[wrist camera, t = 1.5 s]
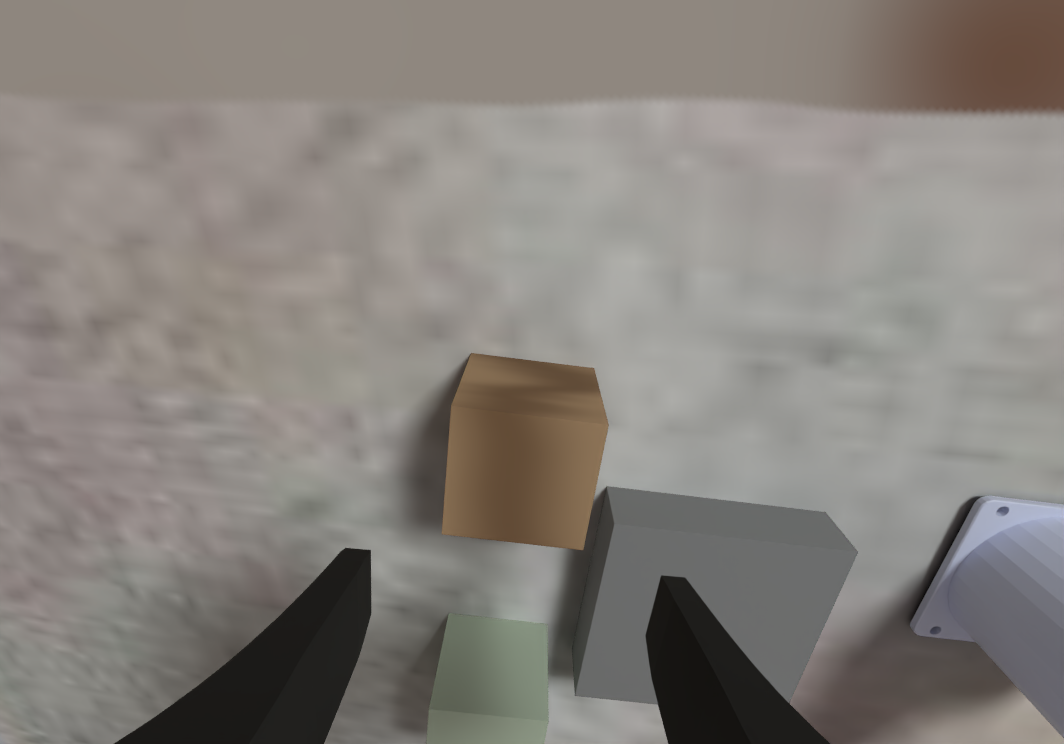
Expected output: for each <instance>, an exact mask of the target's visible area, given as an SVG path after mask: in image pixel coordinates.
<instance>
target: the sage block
mask: <svg viewBox="0 0 1064 744" xmlns="http://www.w3.org/2000/svg"><path fill="white" fill-rule="evenodd" d="M547 726H548V636H547V624H542V623H533V622H524V621H515V620H506V619H496V618H487V617H478V616H469V615H460V614H451V613H449V615H448V620H447V624H446V629H445V634H444V639H443V643H442V648H441V653H440V658H439V663H438V667H437V672H436V677H435V682H434V687H433V691H432V696H431V701H430V706H429V713H428V727H427V740H426V744H544V741H545V736H546V731H547Z"/></svg>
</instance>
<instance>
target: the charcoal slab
mask: <svg viewBox="0 0 1064 744" xmlns="http://www.w3.org/2000/svg"><path fill="white" fill-rule="evenodd" d="M857 553H858V551H857V550H856V549H855V548H854V546H853V545H852V544H851V543H850V541H849V540H848V539H847V538H846V537H845V535H844V534H843V533H842V532H841V530H840V529H839V528H838V527H837V526H836V524H835V523H834V522H833V521H832V519H831V518H830V517H829V516H828V515H827V513H826V512H819V511H810V510H802V509H794V508H785V507H777V506H768V505H760V504H752V503H743V502H735V501H726V500H718V499H709V498H701V497H693V496H684V495H676V494H667V493H659V492H651V491H642V490H634V489H625V488H617V487H608V486H607V488H606V492H605V497H604V502H603V506H602V511H601V516H600V520H599V525H598V530H597V534H596V539H595V544H594V548H593V553H592V558H591V562H590V567H589V572H588V576H587V581H586V586H585V590H584V595H583V600H582V604H581V609H580V614H579V618H578V623H577V628H576V632H575V637H574V642H573V646H572V656H573V672H574V688H575V696H581V697H591V698H600V699H610V700H620V701H629V702H639V703H648V704H658V702H657V698H656V694H655V690H654V686H653V682H652V678H651V672H650V665H649V659H648V651H647V644H646V637H645V635H646V631H647V627H648V623H649V620H650V616H651V612H652V608H653V604H654V601H655V597H656V593H657V589H658V585H659V582H660V578H661V575H663V576H675V577H685V578H686V579H687V580H688V582H689V583H690V584H691V586H692V587H693V588H694V589H695V591H696V592H697V593H698V595H699V596H700V597H701V599H702V600H703V601H704V603H705V604H706V605H707V607H708V608H709V609H710V611H711V612H712V613H713V614H714V616H715V617H716V618H717V620H718V621H719V622H720V624H721V625H722V626H723V627H724V629H725V630H726V631H727V632H728V634H729V635H730V636H731V637H732V639H733V640H734V641H735V642H736V644H737V645H738V646H739V647H740V648H741V650H742V651H743V652H744V653H745V655H746V656H747V657H748V658H749V659H750V661H751V662H752V663H753V664H754V665H755V667H756V668H757V669H758V670H759V671H760V672H761V673H762V674H763V676H764V677H765V678H766V679H767V680H768V681H769V682H770V683H771V685H772V686H773V687H774V688H775V689H776V690H777V691H778V692H779V693H780V694H781V695H782V697H783V698H784V699H785V700H786V701H787V702H788V703H789V702H790V700H791V698H792V695H793V693H794V691H795V689H796V687H797V685H798V682H799V680H800V678H801V676H802V674H803V671H804V669H805V667H806V665H807V663H808V661H809V658H810V656H811V654H812V652H813V650H814V647H815V645H816V643H817V641H818V639H819V636H820V634H821V632H822V630H823V628H824V626H825V623H826V621H827V619H828V617H829V615H830V612H831V610H832V608H833V606H834V604H835V602H836V599H837V597H838V595H839V593H840V591H841V588H842V586H843V584H844V582H845V580H846V578H847V575H848V573H849V571H850V569H851V567H852V564H853V562H854V560H855V558H856V556H857Z"/></svg>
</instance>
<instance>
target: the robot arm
mask: <svg viewBox="0 0 1064 744" xmlns="http://www.w3.org/2000/svg"><path fill="white" fill-rule="evenodd" d="M370 616H371V550H362V549H351V548H345V549H344V550H342V551H341V552H340V553H339V554H338V555H337V556H336V558H335V559H334V560H333V561H332V562H331V563H330V564H329V565H328V566H327V568H326V569H325V570H324V571H323V572H322V573H321V574H320V575H319V576H318V577H317V578H316V579H315V580H314V582H313V583H312V584H311V585H310V586H309V587H308V588H307V589H306V590H305V591H304V592H303V593H302V594H301V595H300V596H299V597H298V598H297V599H296V600H295V601H294V602H293V603H292V604H291V605H290V606H289V607H288V608H287V609H286V610H285V611H284V612H283V613H282V614H281V615H280V616H279V617H278V618H277V619H276V620H275V621H274V622H272V623H271V624H270V625H269V626H268V627H267V628H266V629H265V630H264V631H263V632H262V633H260V634H259V635H258V636H257V637H256V638H255V639H254V640H253V641H252V642H251V643H249V644H248V645H247V646H246V647H245V648H244V649H243V650H241V651H240V652H239V653H238V654H237V655H236V656H234V657H233V658H232V659H231V660H230V661H228V662H227V663H226V664H225V665H224V666H222V667H221V668H220V669H219V670H217V671H216V672H215V673H214V674H212V675H211V676H210V677H209V678H207V679H206V680H205V681H204V682H202V683H201V684H200V685H198V686H197V687H196V688H194V689H193V690H192V691H190V692H189V693H187V694H186V695H185V696H183V697H182V698H181V699H179V700H178V701H177V702H175V703H174V704H173V705H171V706H170V707H168V708H167V709H166V710H164V711H163V712H161V713H160V714H159V715H157V716H156V717H154V718H153V719H151V720H150V721H148V722H147V723H145V724H144V725H142V726H141V727H139V728H138V729H136V730H135V731H133V732H132V733H130V734H128V735H127V736H125V737H124V738H122V739H121V740H119V741H118V742H116V743H114V744H324V742H325V740H326V737H327V735H328V732H329V730H330V727H331V725H332V722H333V720H334V718H335V715H336V713H337V710H338V708H339V705H340V703H341V700H342V698H343V695H344V693H345V690H346V688H347V685H348V683H349V680H350V678H351V675H352V673H353V670H354V668H355V665H356V663H357V660H358V658H359V655H360V651H361V648H362V644H363V641H364V638H365V634H366V630H367V627H368V623H369V620H370ZM910 627H911V629H912V630H913V631H914V633H915V634H917V635H919V636H925V637H934V638H943V639H952V640H961V641H970V642H976V643H977V644H978V645H979V646H980V647H981V648H982V649H983V651H984V652H985V653H986V654H987V655H988V656H989V657H990V658H991V659H992V660H993V662H994V663H995V664H996V665H997V666H998V667H999V668H1000V669H1001V670H1002V671H1003V672H1004V674H1005V675H1006V676H1007V677H1008V678H1009V679H1010V680H1011V681H1012V682H1013V683H1014V685H1015V686H1016V687H1017V688H1018V689H1019V690H1020V691H1021V692H1022V693H1023V694H1024V695H1025V697H1026V698H1027V699H1028V700H1029V701H1030V702H1031V703H1032V704H1033V705H1034V706H1035V708H1036V709H1037V710H1038V711H1039V712H1040V713H1041V714H1042V715H1043V716H1044V717H1045V719H1046V720H1047V721H1048V722H1049V723H1050V724H1051V725H1052V726H1053V727H1054V728H1055V729H1056V731H1057V732H1058V733H1059V734H1060V735H1061V736H1062V737H1063V738H1064V504H1055V503H1047V502H1039V501H1030V500H1022V499H1013V498H1005V497H997V496H984V497H981V498H979V499H978V500H976V502H975V503H974V505H973V507H972V508H971V510H970V512H969V514H968V516H967V518H966V520H965V521H964V523H963V525H962V527H961V529H960V531H959V533H958V535H957V536H956V538H955V540H954V542H953V544H952V546H951V548H950V550H949V551H948V553H947V555H946V557H945V559H944V561H943V563H942V565H941V566H940V568H939V570H938V572H937V574H936V576H935V578H934V580H933V581H932V583H931V585H930V587H929V589H928V591H927V593H926V595H925V596H924V598H923V600H922V602H921V604H920V606H919V608H918V609H917V611H916V613H915V615H914V617H913V619H912V621H911V623H910ZM645 637H646V644H647V651H648V659H649V665H650V672H651V678H652V682H653V686H654V690H655V694H656V698H657V702H658V706H659V710H660V714H661V717H662V721H663V725H664V729H665V732H666V736H667V740H668V744H830V743H829V742H828V741H827V740H826V739H825V738H824V737H822V736H821V735H820V734H819V733H818V732H817V731H816V730H815V729H814V728H813V727H812V726H811V725H810V724H809V723H808V722H807V721H806V720H805V719H804V718H803V717H802V716H801V715H800V714H799V713H798V712H797V711H796V710H795V709H794V708H793V707H792V706H791V705H790V704H789V703H788V702H787V701H786V700H785V699H784V698H783V697H782V695H781V694H780V693H779V692H778V691H777V690H776V689H775V688H774V687H773V686H772V685H771V683H770V682H769V681H768V680H767V679H766V678H765V677H764V676H763V674H762V673H761V672H760V671H759V670H758V669H757V668H756V667H755V665H754V664H753V663H752V662H751V661H750V659H749V658H748V657H747V656H746V655H745V653H744V652H743V651H742V650H741V648H740V647H739V646H738V645H737V644H736V642H735V641H734V640H733V639H732V637H731V636H730V635H729V634H728V632H727V631H726V630H725V629H724V627H723V626H722V625H721V624H720V622H719V621H718V620H717V618H716V617H715V616H714V614H713V613H712V612H711V611H710V609H709V608H708V607H707V605H706V604H705V603H704V601H703V600H702V599H701V597H700V596H699V595H698V593H697V592H696V591H695V589H694V588H693V587H692V586H691V584H690V583H689V582H688V580H687V579H686V578H685V577H675V576H663V575H661V578H660V582H659V585H658V589H657V593H656V597H655V601H654V604H653V608H652V612H651V616H650V620H649V623H648V627H647V631H646V635H645Z"/></svg>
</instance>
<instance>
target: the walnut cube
mask: <svg viewBox="0 0 1064 744" xmlns="http://www.w3.org/2000/svg"><path fill="white" fill-rule="evenodd" d="M608 426H609V424H608V421H607V417H606V413H605V409H604V405H603V401H602V397H601V393H600V389H599V386H598V382H597V378H596V374H595V370H594V368H587V367H579V366H571V365H563V364H555V363H547V362H539V361H531V360H523V359H515V358H507V357H498V356H490V355H482V354H474V353H471V355H470V358H469V360H468V363H467V366H466V368H465V371H464V373H463V376H462V379H461V381H460V384H459V387H458V389H457V392H456V394H455V397H454V400H453V402H452V405H451V414H450V428H449V442H448V455H447V469H446V482H445V496H444V509H443V523H442V534H444V535H453V536H462V537H471V538H479V539H488V540H497V541H506V542H515V543H524V544H532V545H541V546H550V547H559V548H568V549H577V550H583V549H584V544H585V539H586V534H587V529H588V524H589V519H590V514H591V509H592V504H593V500H594V495H595V490H596V485H597V480H598V475H599V470H600V465H601V460H602V455H603V450H604V445H605V440H606V435H607V431H608Z"/></svg>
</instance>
